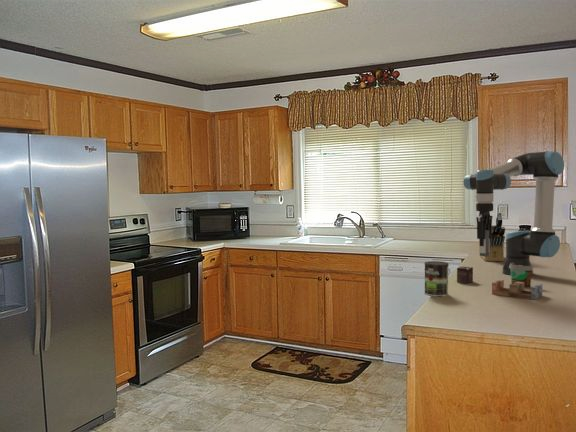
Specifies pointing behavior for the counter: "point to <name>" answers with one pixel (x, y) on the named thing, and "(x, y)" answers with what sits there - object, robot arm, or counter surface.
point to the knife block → (496, 241)
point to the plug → (486, 244)
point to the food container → (521, 274)
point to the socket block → (516, 290)
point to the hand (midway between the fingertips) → (484, 252)
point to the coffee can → (436, 278)
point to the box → (465, 274)
